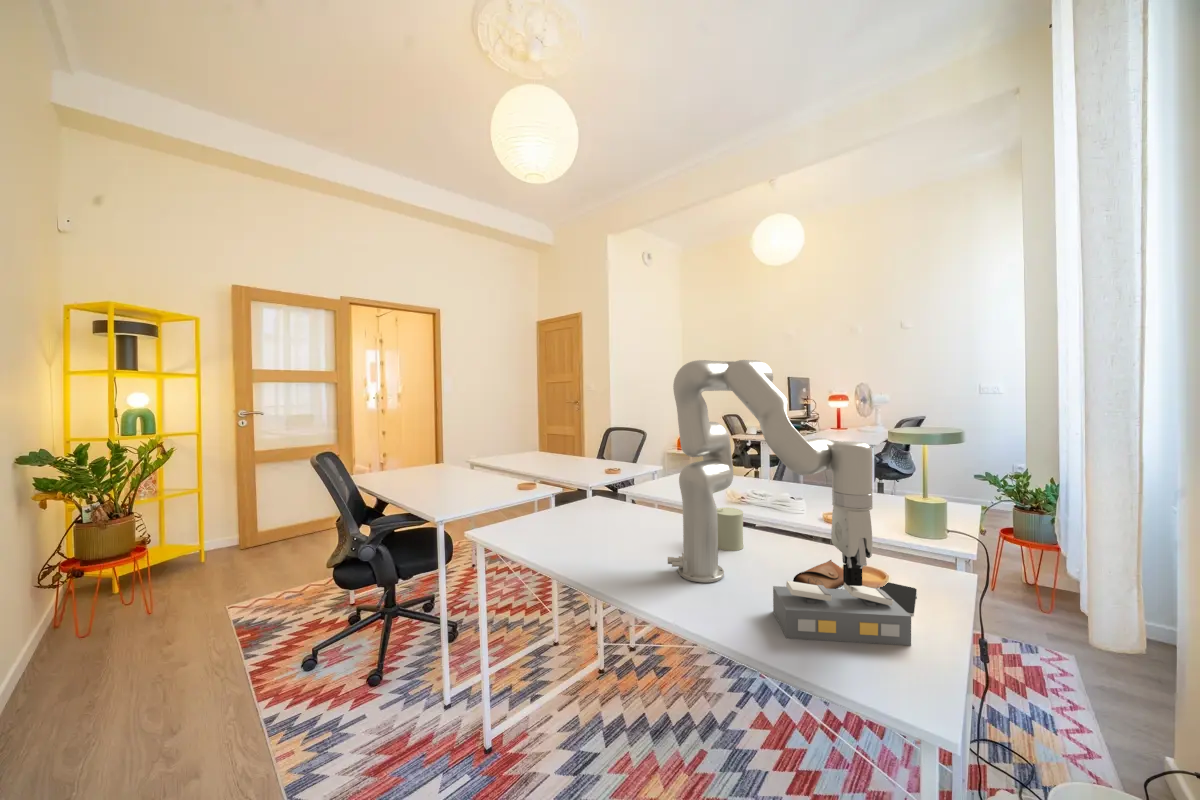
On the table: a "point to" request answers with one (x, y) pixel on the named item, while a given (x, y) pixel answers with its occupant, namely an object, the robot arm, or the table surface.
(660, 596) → the table surface
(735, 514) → the can
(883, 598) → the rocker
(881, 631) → the console
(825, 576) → the sunglasses case
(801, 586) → the rocker
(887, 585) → the smartphone
